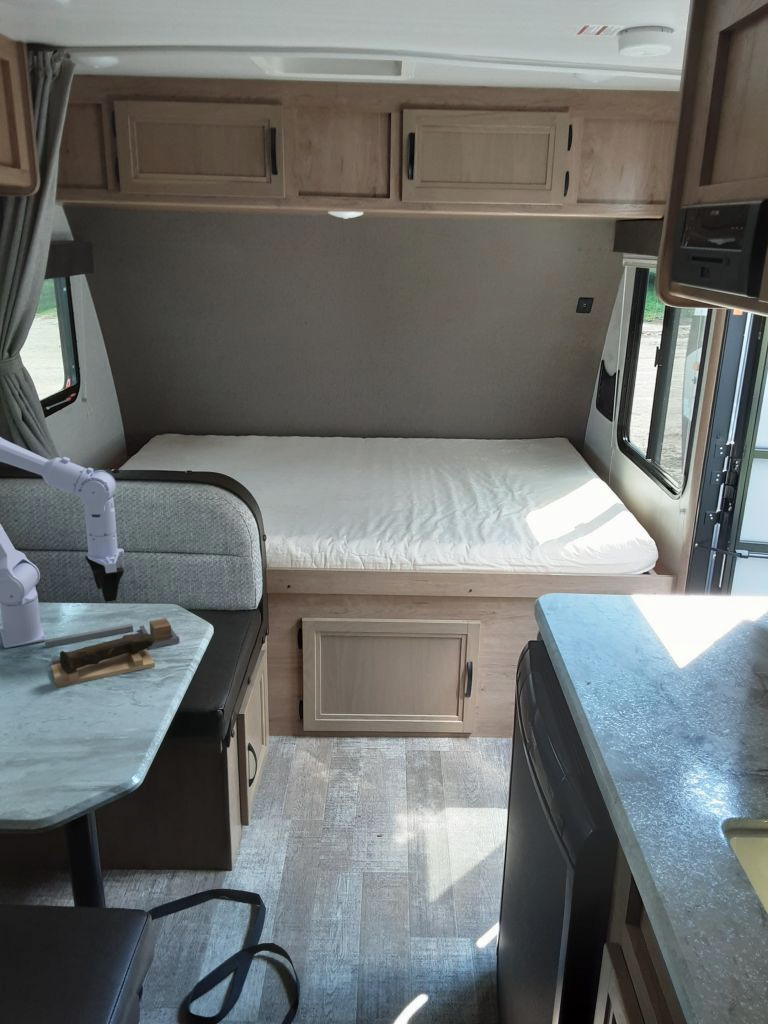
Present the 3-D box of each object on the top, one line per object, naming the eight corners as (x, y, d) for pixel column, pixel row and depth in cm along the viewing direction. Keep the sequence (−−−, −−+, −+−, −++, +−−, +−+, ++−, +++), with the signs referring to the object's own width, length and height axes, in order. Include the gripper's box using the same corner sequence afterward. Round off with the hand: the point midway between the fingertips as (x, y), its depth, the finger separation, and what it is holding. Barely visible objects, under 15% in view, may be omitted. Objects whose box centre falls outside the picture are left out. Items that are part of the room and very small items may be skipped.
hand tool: (57, 669, 151) (69, 678, 148) (57, 649, 150) (69, 657, 147) (147, 646, 165) (159, 653, 162) (147, 627, 164) (160, 635, 161)
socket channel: (45, 645, 165) (44, 640, 165) (131, 628, 173) (131, 623, 173) (53, 666, 156) (52, 661, 156) (143, 648, 165) (143, 643, 165)
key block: (150, 636, 170) (149, 621, 169) (166, 633, 172) (165, 618, 171) (155, 643, 167) (154, 628, 166) (171, 640, 168) (170, 625, 167)
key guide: (139, 629, 173) (139, 624, 173) (166, 624, 176) (166, 619, 176) (151, 648, 165) (151, 643, 165) (179, 642, 168) (179, 637, 167)
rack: (50, 669, 156) (49, 659, 155) (144, 649, 164) (144, 641, 164) (57, 687, 149) (56, 677, 148) (154, 666, 158) (154, 657, 157)
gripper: (130, 539, 158) (134, 603, 162) (114, 519, 170) (118, 579, 174) (92, 544, 155) (98, 609, 159) (79, 523, 167) (84, 584, 171)
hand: (106, 594), depth 166 cm, fingers open, 7 cm apart
